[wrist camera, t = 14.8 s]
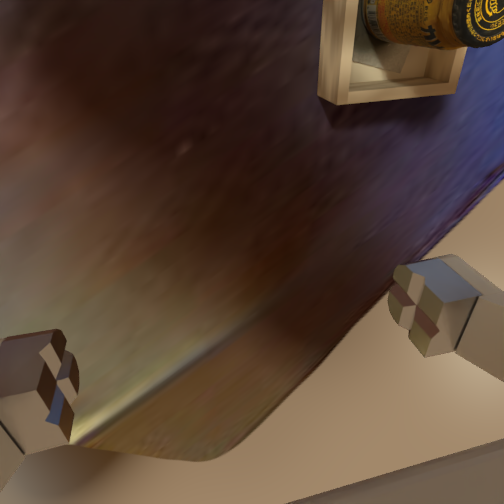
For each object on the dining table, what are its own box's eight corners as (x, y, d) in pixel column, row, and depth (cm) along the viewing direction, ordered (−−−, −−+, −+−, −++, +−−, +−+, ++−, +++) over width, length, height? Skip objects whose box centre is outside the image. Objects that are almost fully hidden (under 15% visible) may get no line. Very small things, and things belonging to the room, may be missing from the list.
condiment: (440, -33, 31) (572, -51, 22) (399, 73, 36) (493, 98, 26) (370, -61, 29) (482, -95, 19) (334, 56, 33) (412, 76, 24)
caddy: (328, -83, 28) (355, -97, 25) (461, -83, 30) (504, -95, 27) (317, 95, 36) (336, 105, 32) (425, 85, 38) (454, 93, 34)
